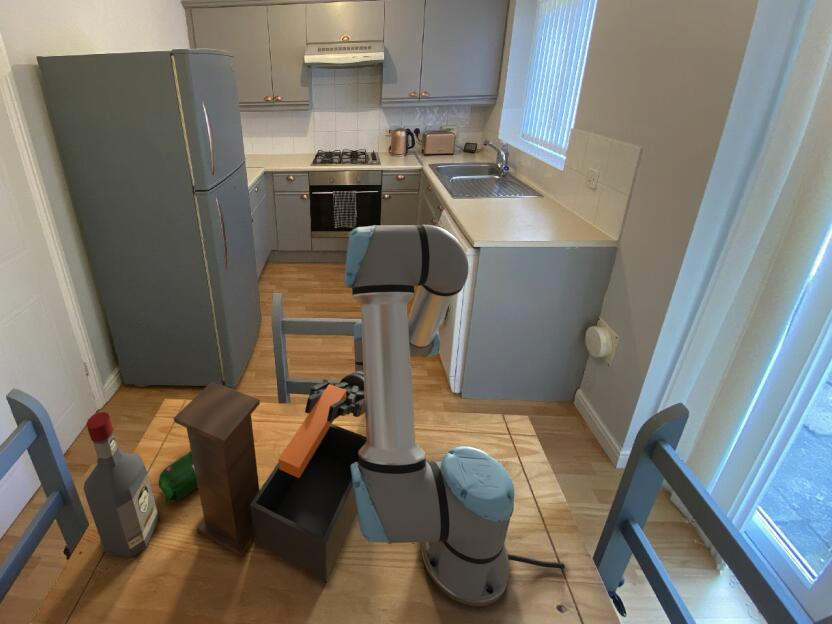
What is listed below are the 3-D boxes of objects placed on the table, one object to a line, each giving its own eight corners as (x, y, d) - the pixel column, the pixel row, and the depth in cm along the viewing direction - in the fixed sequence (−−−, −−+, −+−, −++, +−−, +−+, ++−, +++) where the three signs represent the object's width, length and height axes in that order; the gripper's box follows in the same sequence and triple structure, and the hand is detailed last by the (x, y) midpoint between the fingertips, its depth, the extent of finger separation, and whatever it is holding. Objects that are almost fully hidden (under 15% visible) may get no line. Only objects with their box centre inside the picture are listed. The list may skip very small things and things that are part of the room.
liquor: (97, 555, 80) (55, 439, 68) (123, 508, 88) (89, 398, 77) (142, 560, 79) (107, 444, 67) (164, 513, 87) (136, 402, 76)
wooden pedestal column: (270, 510, 87) (259, 399, 76) (241, 557, 79) (224, 440, 67) (228, 489, 92) (211, 381, 80) (197, 531, 84) (173, 418, 72)
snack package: (234, 467, 97) (231, 450, 95) (168, 512, 87) (164, 494, 85) (219, 448, 102) (216, 432, 100) (155, 488, 92) (151, 471, 90)
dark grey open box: (372, 475, 94) (373, 439, 90) (326, 583, 75) (325, 544, 71) (311, 450, 101) (309, 415, 96) (254, 543, 81) (249, 504, 77)
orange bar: (346, 399, 87) (346, 389, 86) (299, 478, 71) (298, 468, 70) (328, 393, 89) (328, 383, 88) (279, 469, 72) (278, 459, 71)
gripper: (389, 416, 97) (356, 446, 76) (323, 393, 104) (276, 414, 83) (395, 383, 97) (365, 404, 76) (329, 363, 105) (284, 376, 83)
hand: (319, 409), depth 80 cm, fingers closed on orange bar, 4 cm apart
